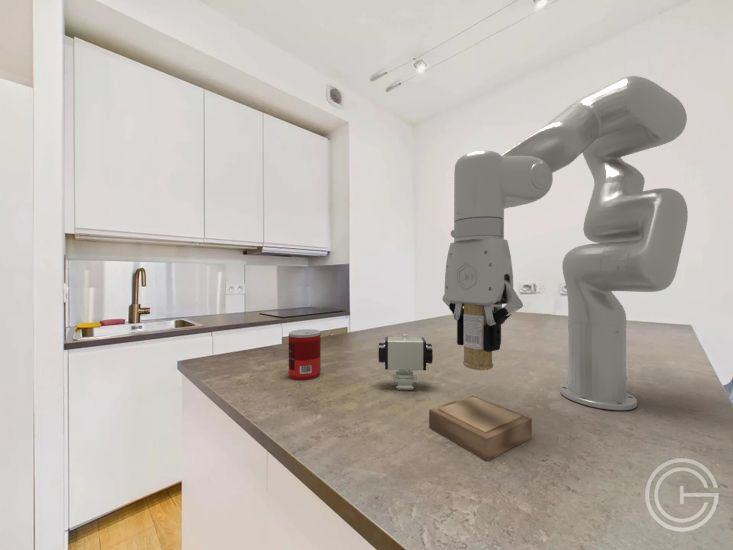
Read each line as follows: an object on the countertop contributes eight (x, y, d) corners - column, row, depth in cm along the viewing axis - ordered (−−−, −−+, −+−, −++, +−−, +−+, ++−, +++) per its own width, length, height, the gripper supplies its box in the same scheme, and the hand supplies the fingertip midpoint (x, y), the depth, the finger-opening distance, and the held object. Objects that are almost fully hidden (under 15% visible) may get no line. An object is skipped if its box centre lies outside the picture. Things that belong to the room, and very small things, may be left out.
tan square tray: (472, 411, 57) (472, 394, 57) (531, 438, 48) (531, 417, 48) (429, 427, 51) (429, 407, 51) (486, 461, 42) (486, 437, 42)
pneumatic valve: (432, 392, 66) (432, 336, 66) (378, 391, 67) (378, 335, 67) (429, 383, 72) (429, 332, 72) (379, 382, 73) (379, 331, 73)
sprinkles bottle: (499, 369, 48) (499, 283, 48) (477, 372, 46) (477, 283, 46) (477, 361, 52) (477, 282, 52) (456, 364, 50) (456, 282, 51)
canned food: (326, 373, 79) (326, 330, 79) (304, 382, 72) (304, 336, 72) (304, 368, 83) (304, 328, 83) (282, 377, 76) (282, 332, 76)
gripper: (424, 236, 55) (423, 340, 54) (514, 223, 40) (513, 363, 40) (453, 239, 59) (453, 336, 58) (544, 228, 44) (544, 355, 44)
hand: (477, 345), depth 49 cm, fingers closed on sprinkles bottle, 4 cm apart
